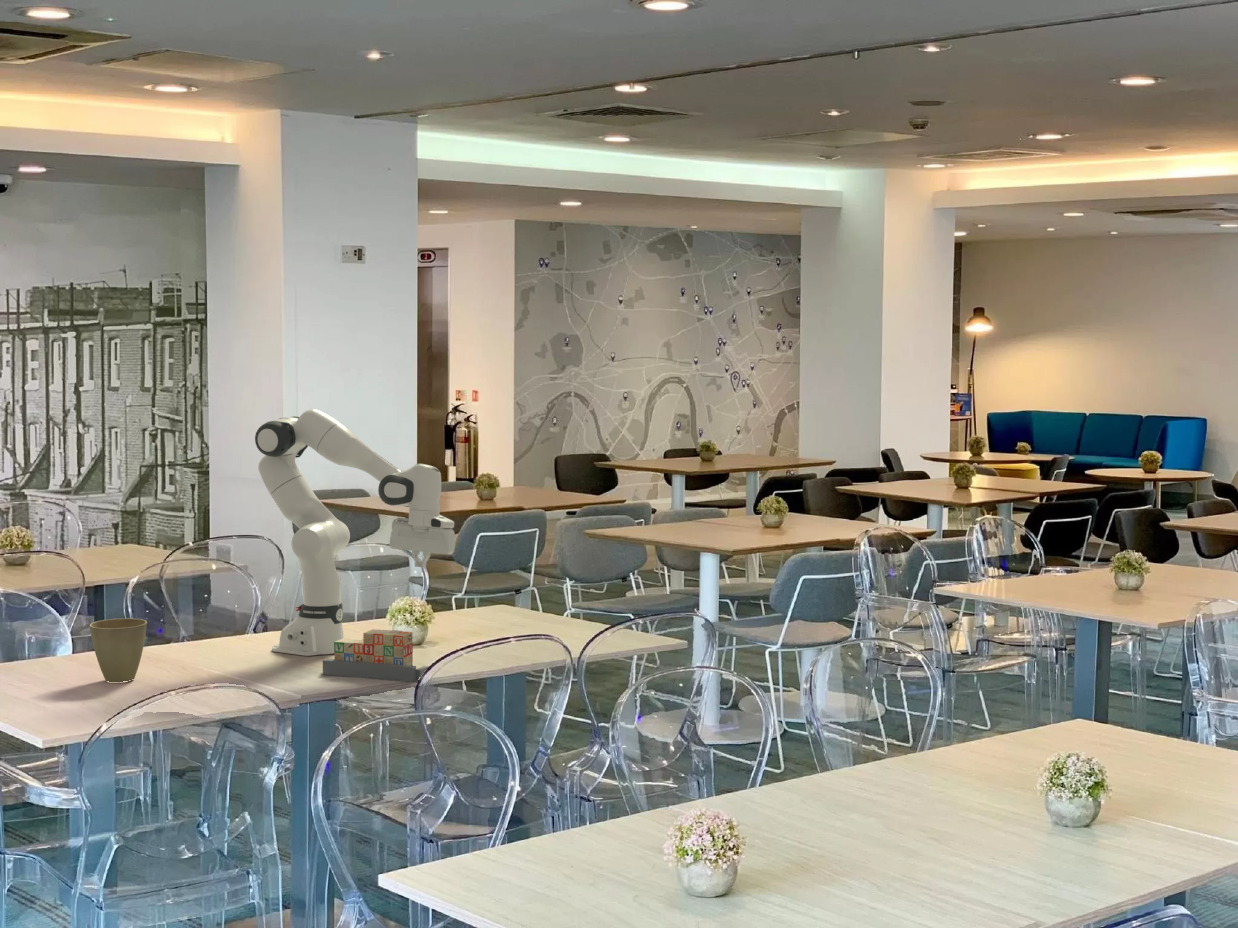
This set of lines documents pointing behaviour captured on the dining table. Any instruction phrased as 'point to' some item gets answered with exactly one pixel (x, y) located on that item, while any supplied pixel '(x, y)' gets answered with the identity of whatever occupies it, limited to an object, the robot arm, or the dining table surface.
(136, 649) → the plant pot
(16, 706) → the dining table surface
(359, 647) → the stack of blocks
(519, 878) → the dining table surface
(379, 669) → the frame
